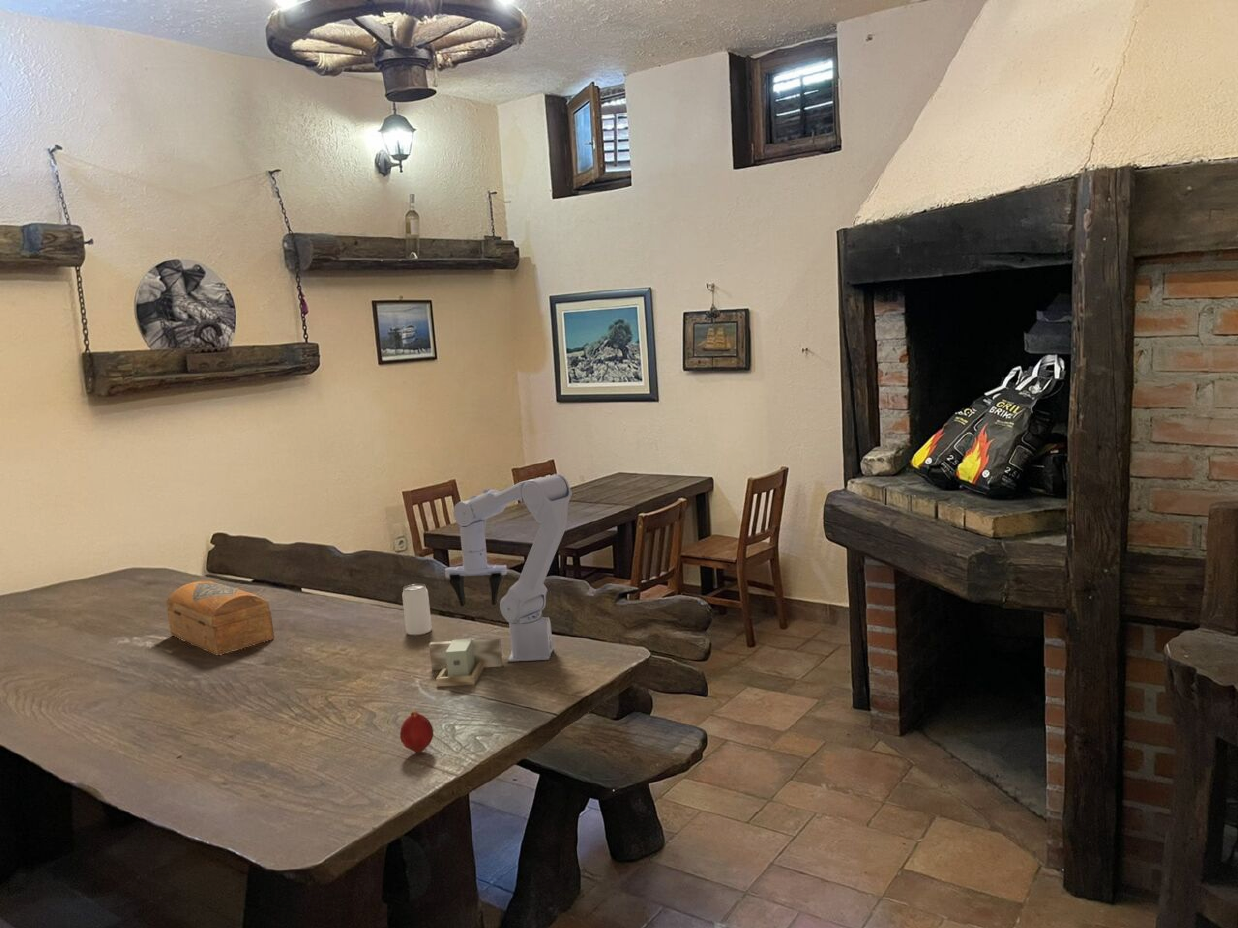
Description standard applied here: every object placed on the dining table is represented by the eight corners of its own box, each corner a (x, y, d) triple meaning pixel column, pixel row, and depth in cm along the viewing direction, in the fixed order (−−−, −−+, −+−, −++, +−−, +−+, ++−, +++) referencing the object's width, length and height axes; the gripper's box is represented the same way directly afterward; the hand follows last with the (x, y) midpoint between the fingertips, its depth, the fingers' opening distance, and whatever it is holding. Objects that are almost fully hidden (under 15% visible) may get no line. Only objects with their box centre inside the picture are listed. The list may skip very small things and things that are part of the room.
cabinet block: (475, 668, 203) (472, 638, 202) (468, 682, 195) (465, 651, 194) (455, 669, 204) (452, 639, 203) (448, 683, 195) (445, 652, 194)
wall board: (502, 663, 204) (500, 638, 204) (492, 683, 193) (489, 657, 192) (433, 667, 206) (430, 642, 205) (419, 687, 194) (416, 660, 193)
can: (425, 635, 229) (420, 590, 227) (402, 635, 230) (397, 590, 229) (435, 627, 235) (431, 583, 234) (412, 627, 237) (408, 583, 235)
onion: (405, 747, 165) (400, 705, 164) (436, 743, 165) (432, 702, 164) (400, 761, 159) (395, 718, 158) (433, 758, 160) (428, 715, 159)
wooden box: (279, 639, 236) (272, 587, 234) (215, 658, 224) (208, 604, 222) (230, 620, 257) (224, 573, 255) (170, 637, 245) (163, 587, 243)
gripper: (507, 544, 218) (511, 598, 220) (448, 546, 219) (453, 600, 221) (501, 551, 211) (506, 607, 213) (440, 553, 212) (445, 609, 214)
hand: (478, 604), depth 216 cm, fingers open, 7 cm apart
